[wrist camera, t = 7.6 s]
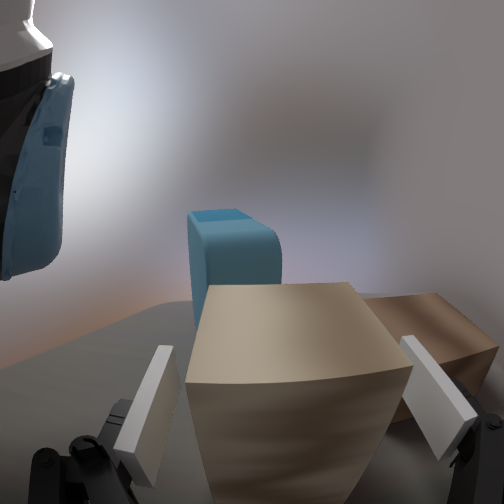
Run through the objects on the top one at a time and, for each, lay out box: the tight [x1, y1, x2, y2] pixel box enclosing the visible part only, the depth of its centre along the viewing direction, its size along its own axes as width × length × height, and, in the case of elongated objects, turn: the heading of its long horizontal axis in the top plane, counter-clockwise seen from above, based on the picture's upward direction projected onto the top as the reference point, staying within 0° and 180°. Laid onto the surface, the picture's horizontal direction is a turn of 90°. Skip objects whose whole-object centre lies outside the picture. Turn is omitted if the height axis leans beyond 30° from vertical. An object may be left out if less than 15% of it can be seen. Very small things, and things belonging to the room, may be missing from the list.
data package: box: [187, 209, 282, 331], centre depth 23 cm, size 12×4×12 cm, turn 17°
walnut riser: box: [363, 293, 499, 424], centre depth 20 cm, size 10×10×5 cm
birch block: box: [185, 282, 414, 504], centre depth 11 cm, size 6×6×11 cm
